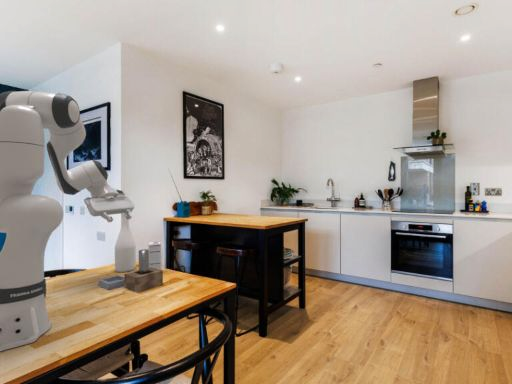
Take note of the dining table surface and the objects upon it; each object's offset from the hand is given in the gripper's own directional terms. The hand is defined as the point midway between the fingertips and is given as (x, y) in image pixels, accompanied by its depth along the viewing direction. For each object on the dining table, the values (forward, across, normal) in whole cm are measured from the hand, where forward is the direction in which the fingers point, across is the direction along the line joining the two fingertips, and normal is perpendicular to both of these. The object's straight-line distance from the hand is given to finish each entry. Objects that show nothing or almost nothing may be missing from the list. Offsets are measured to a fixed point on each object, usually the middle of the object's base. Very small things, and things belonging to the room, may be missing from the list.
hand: (120, 219), depth 129 cm
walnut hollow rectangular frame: (+28, 0, +10) cm, 30 cm away
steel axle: (+28, 0, +10) cm, 30 cm away
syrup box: (+21, +18, +19) cm, 33 cm away
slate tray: (+19, -4, +19) cm, 27 cm away
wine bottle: (+9, +14, +31) cm, 35 cm away
